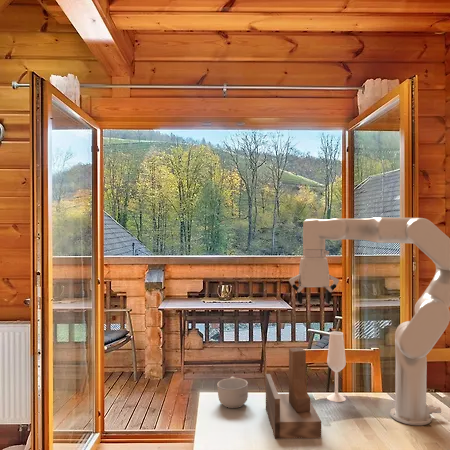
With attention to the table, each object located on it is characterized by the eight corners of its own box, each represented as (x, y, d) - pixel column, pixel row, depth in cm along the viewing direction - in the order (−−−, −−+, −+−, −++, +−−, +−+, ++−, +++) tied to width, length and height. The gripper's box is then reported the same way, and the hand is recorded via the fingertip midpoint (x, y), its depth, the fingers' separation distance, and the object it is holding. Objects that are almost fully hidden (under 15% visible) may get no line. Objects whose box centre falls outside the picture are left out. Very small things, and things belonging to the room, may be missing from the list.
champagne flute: (345, 395, 171) (345, 331, 171) (346, 402, 165) (346, 335, 164) (326, 394, 172) (327, 330, 172) (327, 401, 166) (327, 334, 166)
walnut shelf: (305, 407, 160) (305, 373, 160) (321, 438, 138) (321, 398, 138) (265, 408, 160) (265, 373, 159) (274, 438, 138) (275, 398, 137)
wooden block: (310, 412, 145) (310, 355, 144) (296, 413, 144) (297, 355, 144) (301, 400, 154) (301, 347, 153) (288, 401, 153) (288, 347, 153)
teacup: (245, 412, 156) (245, 389, 156) (214, 409, 158) (214, 386, 158) (251, 397, 170) (251, 375, 170) (222, 394, 172) (222, 373, 172)
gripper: (335, 253, 164) (335, 301, 165) (287, 253, 164) (287, 301, 164) (341, 255, 157) (341, 305, 157) (291, 255, 156) (291, 305, 156)
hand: (313, 303), depth 161 cm, fingers open, 9 cm apart
